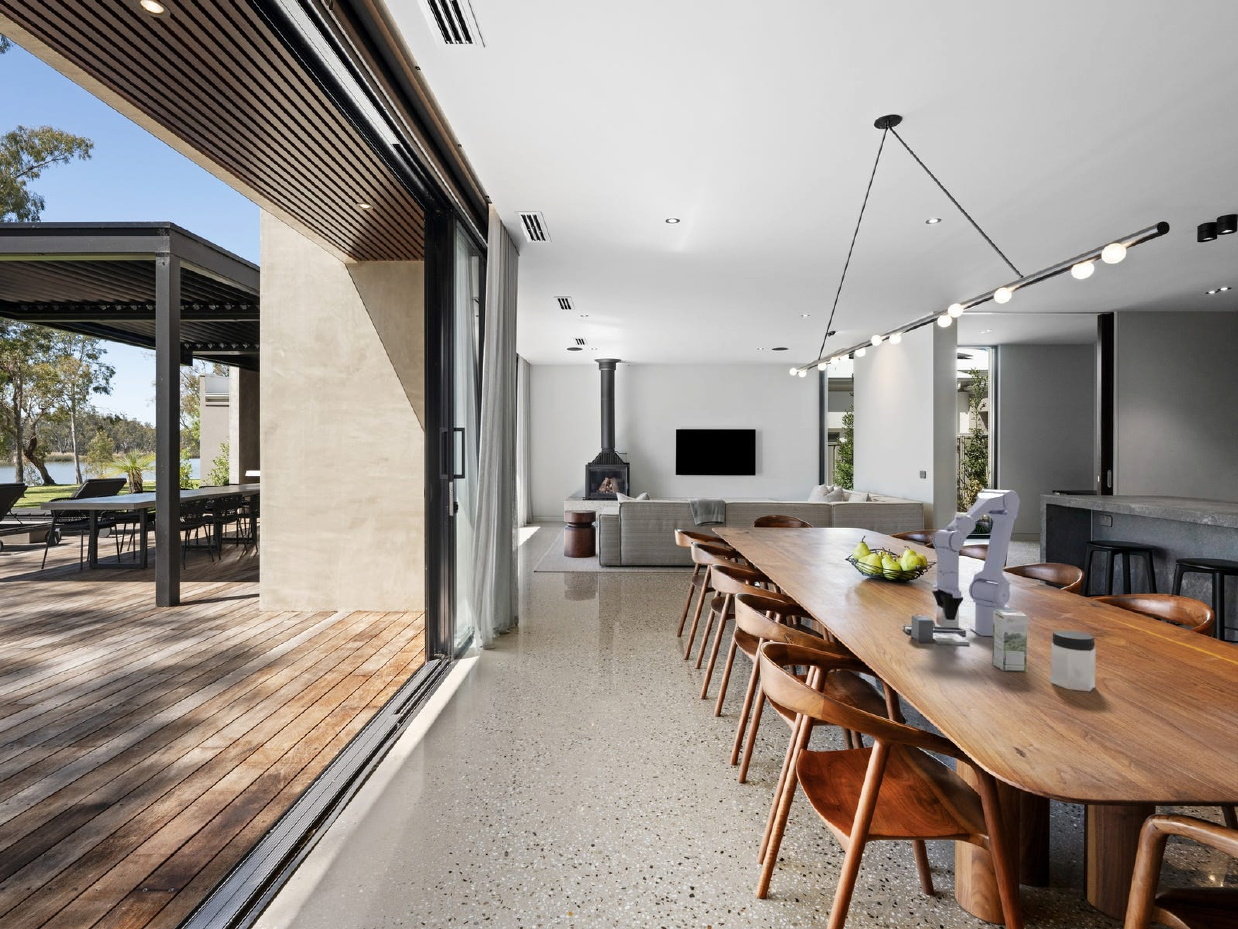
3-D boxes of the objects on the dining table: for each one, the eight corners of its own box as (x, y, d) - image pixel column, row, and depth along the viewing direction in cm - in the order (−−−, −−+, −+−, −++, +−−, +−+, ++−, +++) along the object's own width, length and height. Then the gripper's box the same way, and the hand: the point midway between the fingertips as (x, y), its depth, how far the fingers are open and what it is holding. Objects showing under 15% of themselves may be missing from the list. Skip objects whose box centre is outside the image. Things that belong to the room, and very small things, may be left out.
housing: (952, 623, 191) (952, 603, 190) (958, 627, 186) (958, 606, 186) (936, 623, 191) (936, 602, 191) (942, 627, 187) (942, 606, 186)
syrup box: (1015, 665, 167) (1015, 609, 167) (1027, 672, 161) (1027, 614, 161) (991, 664, 167) (992, 608, 167) (1003, 671, 161) (1003, 614, 161)
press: (960, 631, 198) (960, 610, 198) (981, 646, 183) (982, 623, 183) (903, 630, 200) (903, 609, 200) (920, 644, 185) (920, 621, 185)
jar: (1056, 689, 150) (1057, 637, 149) (1045, 677, 157) (1045, 628, 157) (1102, 693, 147) (1102, 641, 147) (1088, 681, 155) (1088, 631, 155)
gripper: (924, 566, 196) (923, 611, 196) (943, 575, 182) (942, 623, 182) (948, 567, 195) (948, 611, 195) (969, 576, 181) (968, 624, 181)
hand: (947, 617), depth 189 cm, fingers closed on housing, 4 cm apart
